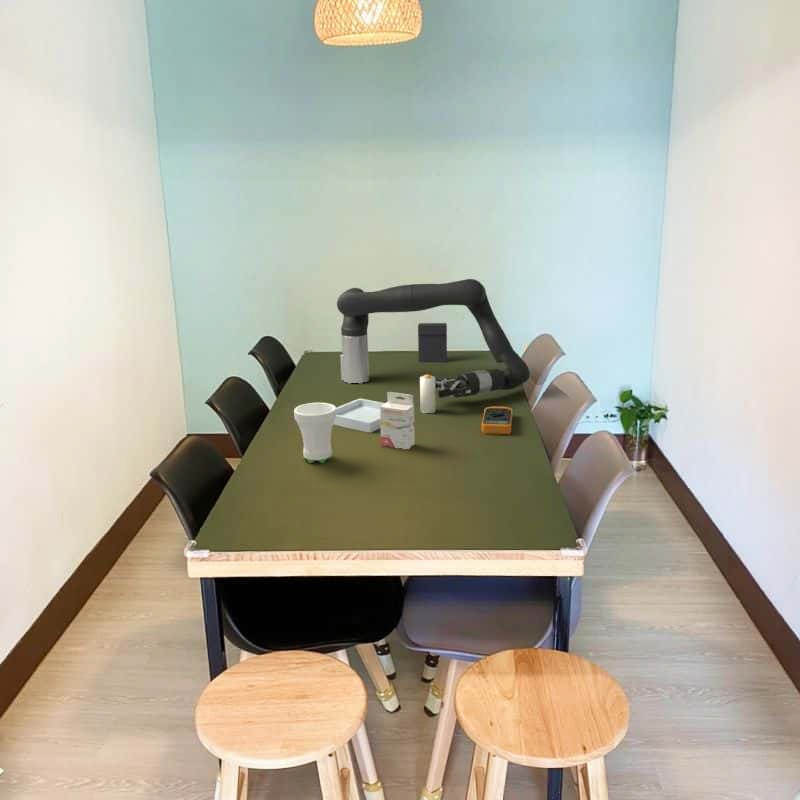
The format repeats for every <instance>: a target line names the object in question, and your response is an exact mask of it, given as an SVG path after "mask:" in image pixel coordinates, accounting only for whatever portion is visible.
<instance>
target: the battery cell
mask: <svg viewBox="0 0 800 800" xmlns="http://www.w3.org/2000/svg"><path fill="white" fill-rule="evenodd" d="M435 379H436V376H434V375H431V374H424V375H421V376H420V377H419V394H420V396H419V401H420V402H419V403H420V405H419V407H420V410H419V411H421V412H422V414H425V413H431V414H434V413H436V412H435V411H437V410H436V409H437V407H436V390H435ZM421 412H420V413H421Z"/></svg>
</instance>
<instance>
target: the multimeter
mask: <svg viewBox="0 0 800 800" xmlns="http://www.w3.org/2000/svg"><path fill="white" fill-rule="evenodd" d="M483 411H484V412H483V418H482V422H481V432H482V434H484V435H502V434H508V435H510V434H511V432H512V422H513V415H514V414H513V412H514V409H512V408H511V407H508V406H488V407H485V408H484V410H483Z"/></svg>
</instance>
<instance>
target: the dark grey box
mask: <svg viewBox="0 0 800 800" xmlns="http://www.w3.org/2000/svg"><path fill="white" fill-rule="evenodd" d="M447 329H448V325H447V323H446V322H436V323H435V322H424V323H423V322H419V323H418V325H417V336H418V338H417V339H418V340H417V341H418V343H417V344H418V347H417V348H418V362H419V363H446V362H447V361H448V347H447V346H448V342H447V341H448V335H447V334H448V331H447Z"/></svg>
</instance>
